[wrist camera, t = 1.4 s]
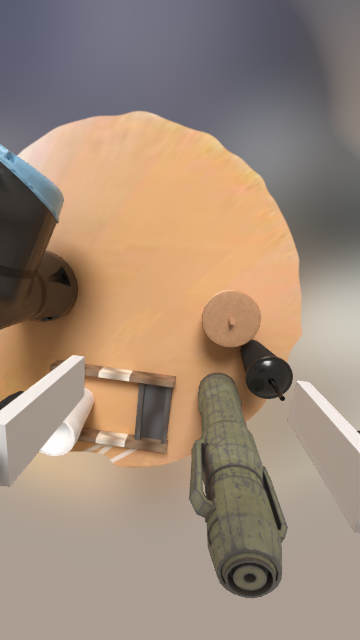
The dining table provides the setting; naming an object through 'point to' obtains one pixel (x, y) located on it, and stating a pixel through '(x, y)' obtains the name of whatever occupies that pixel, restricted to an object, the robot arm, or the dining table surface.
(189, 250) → the dining table surface
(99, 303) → the dining table surface
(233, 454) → the thermos
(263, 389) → the drinking cup
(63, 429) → the foam cup
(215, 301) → the lidded jar
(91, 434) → the lane
